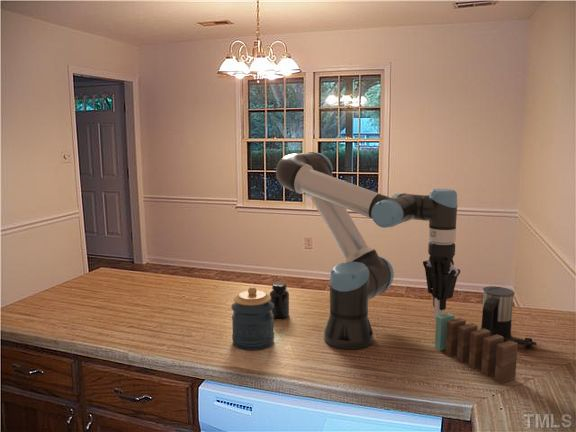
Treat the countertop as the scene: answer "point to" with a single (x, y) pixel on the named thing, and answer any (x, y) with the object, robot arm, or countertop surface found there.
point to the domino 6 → (506, 362)
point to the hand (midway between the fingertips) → (438, 318)
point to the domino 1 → (442, 330)
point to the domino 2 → (453, 335)
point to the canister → (252, 320)
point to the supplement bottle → (280, 300)
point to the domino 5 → (490, 354)
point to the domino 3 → (464, 341)
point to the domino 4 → (477, 348)
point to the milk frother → (500, 313)
